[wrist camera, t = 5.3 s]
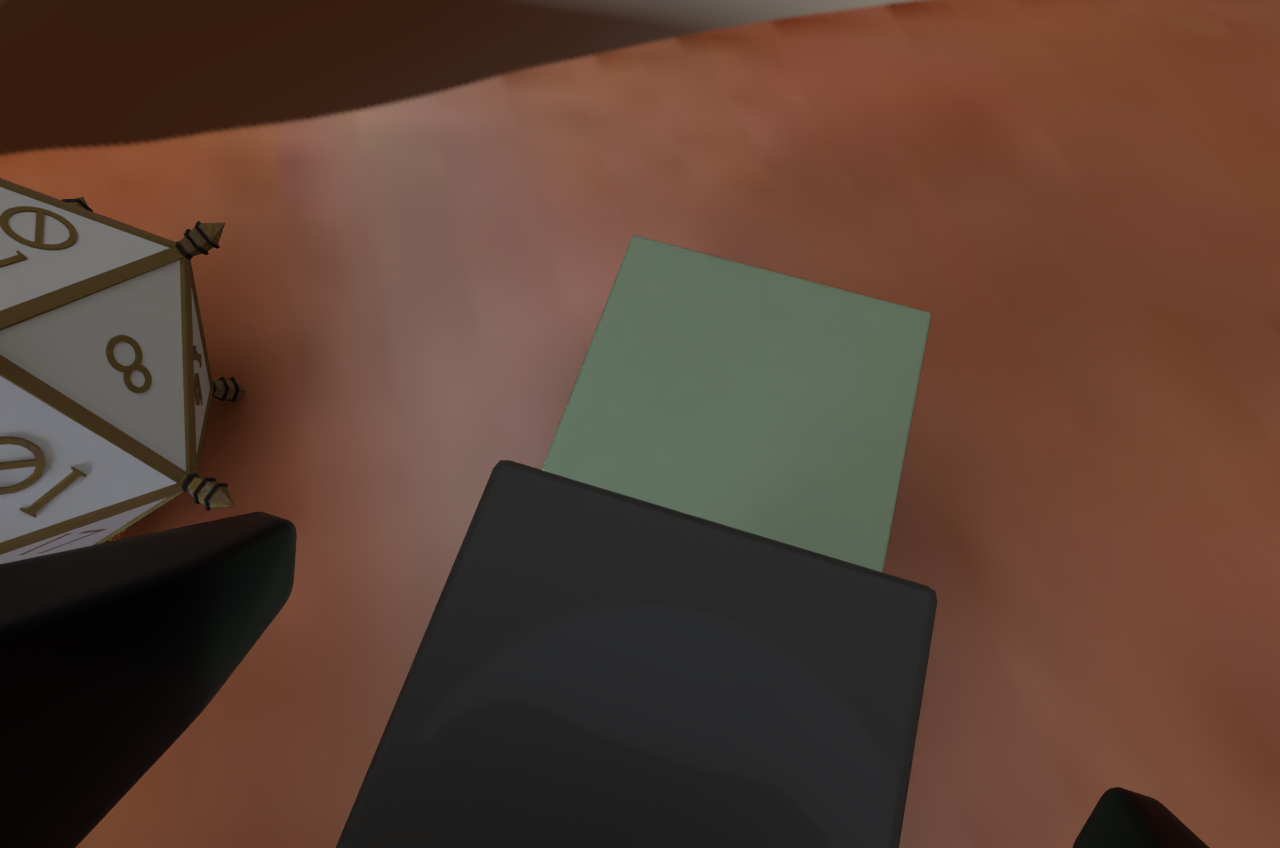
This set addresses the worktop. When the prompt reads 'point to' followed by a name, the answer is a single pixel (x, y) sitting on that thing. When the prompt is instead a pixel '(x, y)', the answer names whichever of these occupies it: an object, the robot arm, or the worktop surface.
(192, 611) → the robot arm
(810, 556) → the two-tone post fixture
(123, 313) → the game die
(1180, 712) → the worktop surface
